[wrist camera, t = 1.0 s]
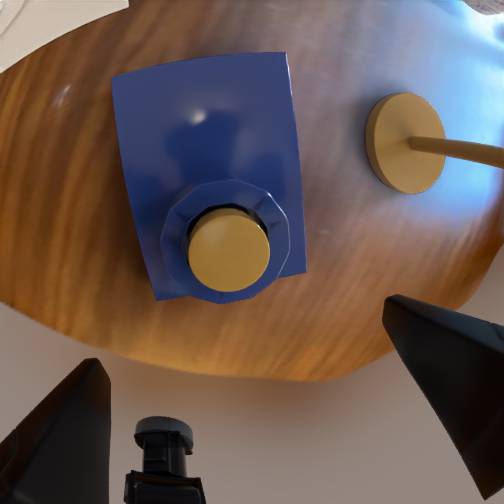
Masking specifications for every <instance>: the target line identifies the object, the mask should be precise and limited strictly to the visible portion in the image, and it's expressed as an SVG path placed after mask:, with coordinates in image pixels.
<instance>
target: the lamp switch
mask: <svg viewBox="0 0 504 504" xmlns="http://www.w3.org/2000/svg"><path fill="white" fill-rule="evenodd" d="M269 257H270V247H269V242H268V239H267V237H266V235H265V233H264V232H263V230H262V229H261V227H260V226H259V225H258V223H257V222H256V221H255V220H254V219H253V218H252V217H251V216H250V215H249V214H247V213H246V212H244V211H241V210H239V209H235V208H219V209H215V210H213V211H210V212H208V213H207V214H205V215H204V216H202V217H201V218H200V219H199V220H198V221H197V223H196V224H195V225H194V227H193V229H192V231H191V234H190V238H189V250H188V259H189V264H190V267H191V270H192V272H193V273H194V275H195V277H196V278H197V279H198V280H199V281H200V282H201V283H202V284H204V285H205V286H207V287H209V288H211V289H214V290H217V291H223V292H232V291H238V290H241V289H244V288H246V287H248V286H250V285H251V284H253V283H254V282H256V281H257V280H258V279H259V278H260V277H261V275H262V274H263V273H264V271H265V269H266V267H267V265H268V262H269Z"/></svg>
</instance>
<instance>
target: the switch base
mask: <svg viewBox="0 0 504 504" xmlns="http://www.w3.org/2000/svg"><path fill="white" fill-rule="evenodd" d="M111 86H112V96H113V106H114V114H115V122H116V129H117V136H118V143H119V149H120V155H121V161H122V167H123V172H124V177H125V182H126V187H127V192H128V197H129V202H130V206H131V211H132V215H133V219H134V224H135V228H136V232H137V236H138V240H139V243H140V247H141V251H142V255H143V258H144V262H145V265H146V269H147V272H148V276H149V279H150V283H151V286H152V289H153V292H154V296H155V299H156V301H161V300H167V299H173V298H178V297H184V296H192V297H195V298H199V299H202V300H206V301H210V302H213V303H217V304H225V303H230V302H235V301H240V300H245V299H250V298H251V297H254V296H255V295H257V294H258V293H259V292H261V291H262V290H263V289H265V288H266V287H267V286H269V285H270V284H271V283H272V282H274V281H275V280H276V279H277V278H282V277H287V276H292V275H296V274H301V273H306V272H307V257H306V238H305V222H304V207H303V194H302V182H301V171H300V160H299V150H298V140H297V131H296V122H295V114H294V106H293V98H292V90H291V83H290V76H289V69H288V62H287V56H286V52H261V53H242V54H229V55H219V56H210V57H202V58H195V59H189V60H183V61H177V62H171V63H166V64H161V65H156V66H152V67H147V68H143V69H139V70H135V71H131V72H127V73H124V74H120V75H117V76H113V77H111ZM219 208H235V209H239V210H241V211H244V212H246V213H247V214H249V215H250V216H251V217H252V218H253V219H254V220H255V221H256V222H257V223H258V225H259V226H260V227H261V229H262V230H263V232H264V233H265V235H266V237H267V239H268V242H269V247H270V257H269V262H268V265H267V267H266V269H265V271H264V273H263V274H262V275H261V277H260V278H259V279H258V280H257V281H256V282H254V283H253V284H251V285H250V286H248V287H246V288H244V289H241V290H238V291H232V292H223V291H217V290H214V289H211V288H209V287H207V286H205V285H204V284H202V283H201V282H200V281H199V280H198V279H197V278H196V277H195V275H194V273H193V272H192V270H191V267H190V264H189V259H188V250H189V238H190V234H191V231H192V229H193V227H194V225H195V224H196V223H197V221H198V220H199V219H200V218H201V217H202V216H204V215H205V214H207V213H208V212H210V211H213V210H215V209H219Z"/></svg>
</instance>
